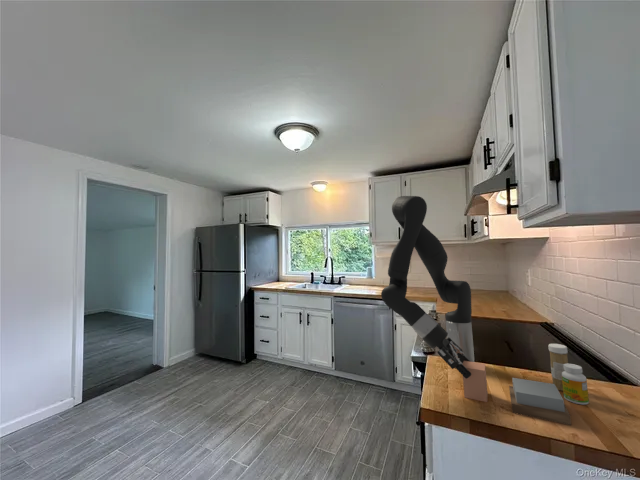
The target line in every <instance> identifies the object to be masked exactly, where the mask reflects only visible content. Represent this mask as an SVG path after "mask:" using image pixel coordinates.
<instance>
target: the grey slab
mask: <svg viewBox="0 0 640 480" xmlns="http://www.w3.org/2000/svg"><path fill="white" fill-rule="evenodd" d="M511 378H512V386H513V389H514V393H515V397H516V401H517V403H519V404H524V405H529V406H535V407H540V408H545V409H551V410H556V411H561V412H565V408H564V404H565V401H564V397H562V394H561V393H560V390H558V389H557V388H556V386H555V384H553V383H550V382H543V381H537V380H536V381H535V380H530V379H529V380H528V379H523V378H519V377H518V378H516V377H511Z"/></svg>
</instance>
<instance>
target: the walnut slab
mask: <svg viewBox="0 0 640 480" xmlns="http://www.w3.org/2000/svg"><path fill="white" fill-rule="evenodd" d="M509 396H510V403H511V410H512V413H513V414H516V413H518V414H517V415H521V414H522V415H521V416H527V417H530V418H534V419H535V418H537V419H539V420H540V419H541V420H545V421H549V422H553V423H559V424H564V425H567V426H572V419H571V414H570V412H569V410H568V408H567V406H566V404H565V403H564V408H565V412H561V411H556V410H551V409H545V408H540V407H535V406H529V405H524V404H519V403H517V401H516V397H515V393H514V389H513V385H512V386H511V385H509Z"/></svg>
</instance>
